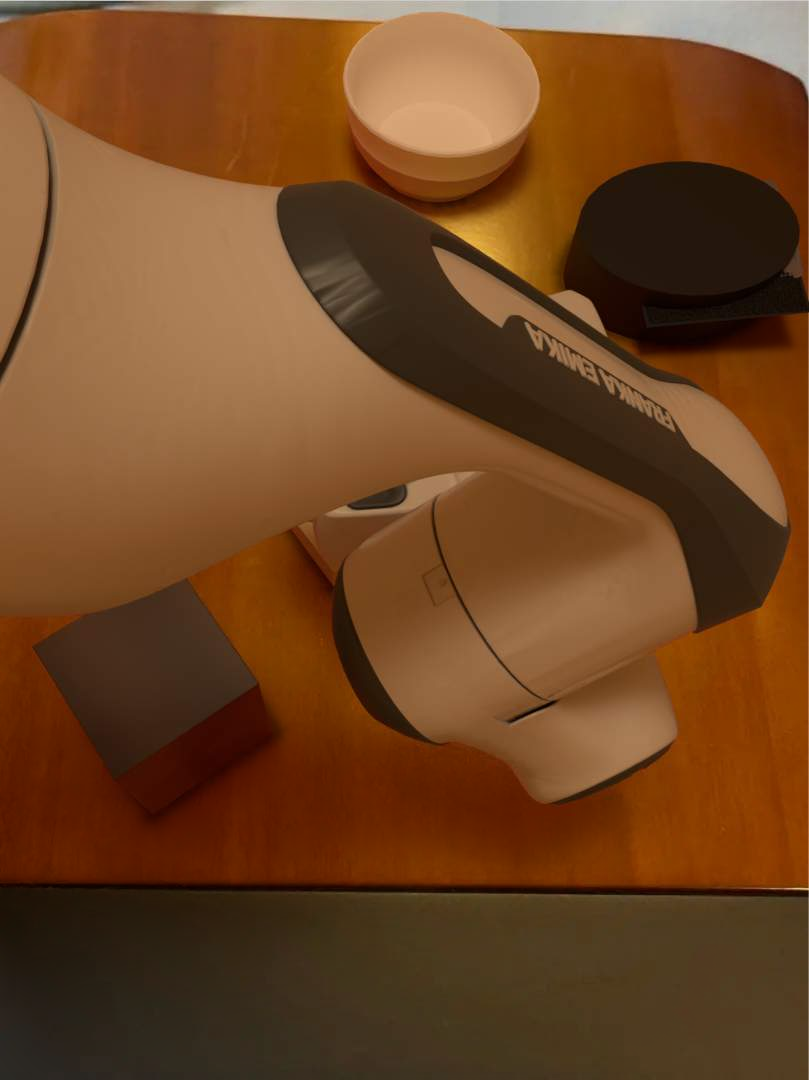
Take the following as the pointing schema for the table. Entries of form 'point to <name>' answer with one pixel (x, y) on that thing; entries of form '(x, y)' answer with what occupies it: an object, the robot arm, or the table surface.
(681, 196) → the black flat-topped cap
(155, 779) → the pedestal
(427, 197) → the bowl
